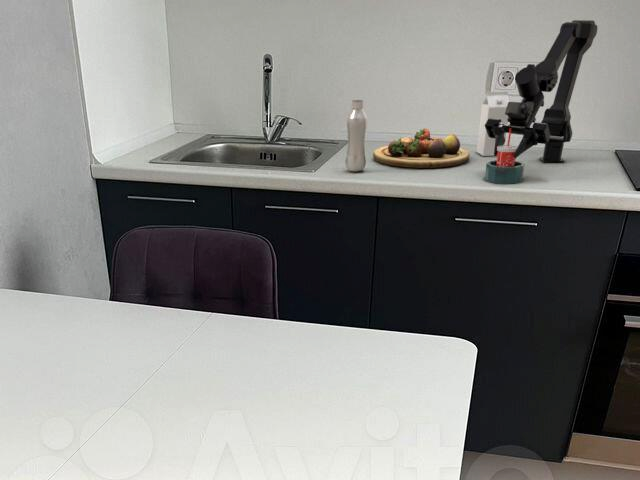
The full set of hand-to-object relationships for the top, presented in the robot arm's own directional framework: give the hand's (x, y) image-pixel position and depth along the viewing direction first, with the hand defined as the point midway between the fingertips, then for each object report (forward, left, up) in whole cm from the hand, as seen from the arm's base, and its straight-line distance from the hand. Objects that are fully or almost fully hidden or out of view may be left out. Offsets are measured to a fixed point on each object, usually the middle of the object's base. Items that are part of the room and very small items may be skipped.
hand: (504, 156), depth 213 cm
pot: (-1, +1, -7) cm, 7 cm away
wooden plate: (-32, -21, -7) cm, 39 cm away
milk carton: (-40, +3, -7) cm, 41 cm away
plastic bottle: (-14, -43, -7) cm, 46 cm away
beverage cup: (-1, +1, -7) cm, 7 cm away
